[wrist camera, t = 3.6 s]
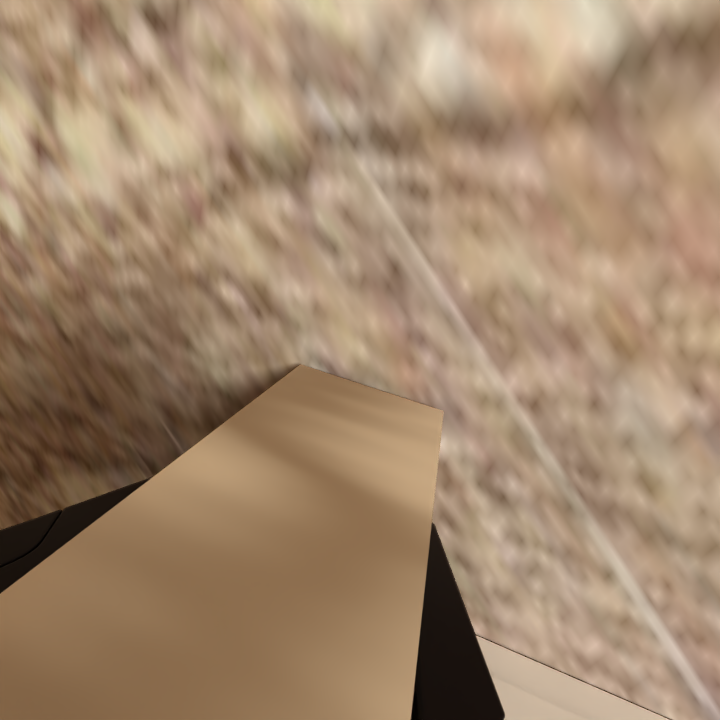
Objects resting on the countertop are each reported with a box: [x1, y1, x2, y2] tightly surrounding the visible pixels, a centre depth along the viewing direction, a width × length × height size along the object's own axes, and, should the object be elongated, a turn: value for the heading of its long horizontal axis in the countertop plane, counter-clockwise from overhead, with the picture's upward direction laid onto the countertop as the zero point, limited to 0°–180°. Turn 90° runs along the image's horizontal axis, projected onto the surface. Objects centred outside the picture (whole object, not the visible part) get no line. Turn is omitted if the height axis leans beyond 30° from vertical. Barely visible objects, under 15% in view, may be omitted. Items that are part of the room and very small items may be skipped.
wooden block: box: [0, 364, 444, 720], centre depth 6 cm, size 4×4×8 cm
